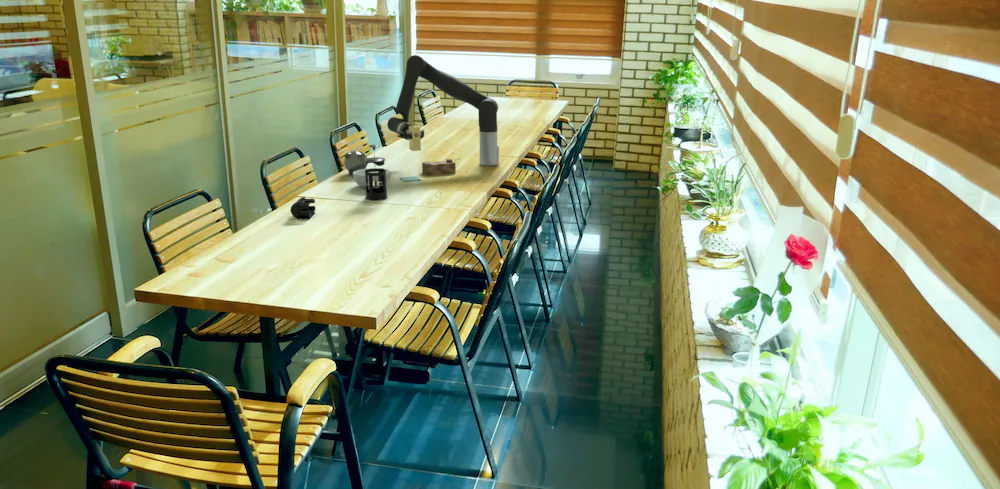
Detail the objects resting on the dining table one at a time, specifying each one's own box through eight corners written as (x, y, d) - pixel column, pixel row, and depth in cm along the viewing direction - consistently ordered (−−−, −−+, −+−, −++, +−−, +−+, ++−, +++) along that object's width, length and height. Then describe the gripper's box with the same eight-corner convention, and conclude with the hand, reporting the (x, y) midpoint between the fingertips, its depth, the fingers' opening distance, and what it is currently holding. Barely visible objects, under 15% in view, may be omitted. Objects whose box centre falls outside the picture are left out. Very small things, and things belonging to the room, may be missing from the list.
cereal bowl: (397, 184, 352) (396, 169, 350) (380, 192, 337) (379, 177, 335) (364, 181, 358) (364, 166, 355) (346, 189, 343) (346, 174, 340)
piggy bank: (341, 177, 364) (339, 153, 361) (348, 170, 378) (347, 147, 375) (364, 177, 364) (363, 154, 360) (371, 171, 378) (369, 148, 374)
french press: (380, 201, 322) (377, 148, 315) (360, 199, 325) (357, 146, 318) (393, 195, 333) (390, 143, 325) (373, 193, 336) (371, 141, 328)
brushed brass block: (417, 148, 364) (416, 125, 360) (421, 150, 359) (420, 127, 355) (409, 148, 363) (408, 125, 359) (412, 151, 357) (412, 127, 354)
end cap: (298, 212, 306) (297, 196, 304) (316, 213, 306) (314, 196, 304) (291, 219, 297) (289, 203, 295) (309, 220, 297) (307, 203, 294)
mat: (415, 176, 366) (415, 176, 366) (421, 180, 359) (420, 179, 359) (399, 178, 363) (399, 177, 363) (404, 181, 356) (404, 181, 356)
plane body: (451, 170, 380) (450, 157, 378) (455, 172, 374) (455, 160, 372) (422, 172, 374) (422, 160, 372) (426, 175, 369) (426, 162, 367)
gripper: (392, 123, 368) (401, 129, 352) (420, 122, 373) (430, 128, 358) (392, 139, 370) (401, 145, 355) (420, 137, 375) (431, 143, 360)
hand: (416, 137), depth 356 cm, fingers closed on brushed brass block, 4 cm apart
